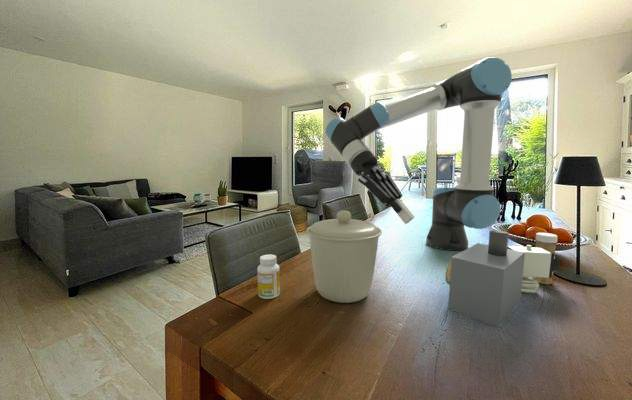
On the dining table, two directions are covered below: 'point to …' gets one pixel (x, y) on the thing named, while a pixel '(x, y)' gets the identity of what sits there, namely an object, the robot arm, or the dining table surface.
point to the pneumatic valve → (536, 266)
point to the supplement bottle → (268, 277)
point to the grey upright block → (498, 243)
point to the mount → (486, 283)
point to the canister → (343, 257)
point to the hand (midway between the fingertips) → (409, 220)
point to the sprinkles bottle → (549, 244)
